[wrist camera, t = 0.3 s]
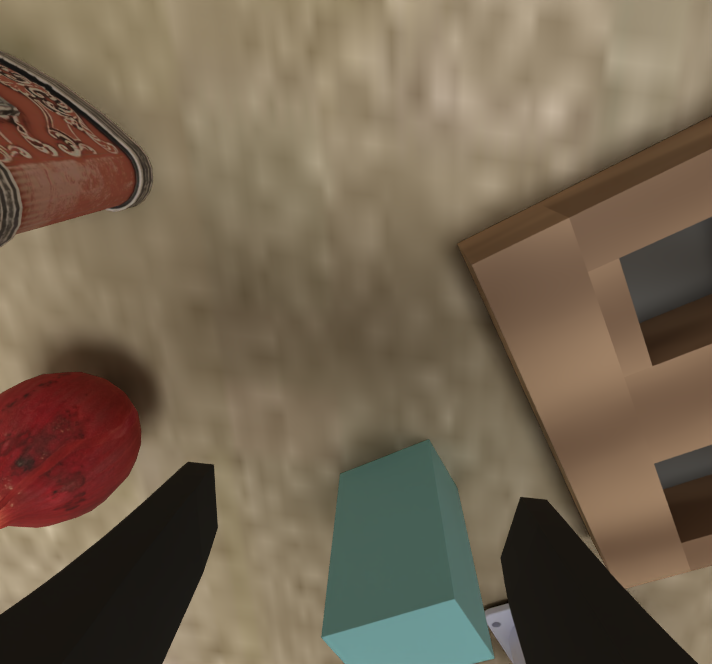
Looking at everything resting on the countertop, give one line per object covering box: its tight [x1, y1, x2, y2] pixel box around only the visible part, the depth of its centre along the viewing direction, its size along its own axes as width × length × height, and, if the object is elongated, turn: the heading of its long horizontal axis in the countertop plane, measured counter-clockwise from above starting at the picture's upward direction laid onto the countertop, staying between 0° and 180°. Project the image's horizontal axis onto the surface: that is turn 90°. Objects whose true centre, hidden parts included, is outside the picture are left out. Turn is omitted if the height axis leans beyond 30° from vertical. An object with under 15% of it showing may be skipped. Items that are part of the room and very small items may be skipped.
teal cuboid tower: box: [321, 439, 494, 664], centre depth 19 cm, size 4×5×8 cm
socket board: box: [457, 116, 712, 589], centre depth 17 cm, size 18×13×3 cm
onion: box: [0, 372, 141, 529], centre depth 17 cm, size 6×6×8 cm
